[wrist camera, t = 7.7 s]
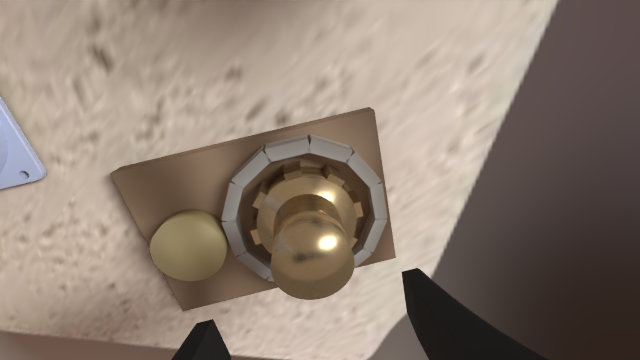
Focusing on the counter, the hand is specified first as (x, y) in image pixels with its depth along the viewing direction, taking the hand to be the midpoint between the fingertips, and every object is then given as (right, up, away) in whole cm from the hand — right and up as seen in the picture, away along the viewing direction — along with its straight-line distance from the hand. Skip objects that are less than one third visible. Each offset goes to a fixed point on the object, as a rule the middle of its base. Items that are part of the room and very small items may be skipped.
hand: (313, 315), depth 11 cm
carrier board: (-3, +3, +10) cm, 11 cm away
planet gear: (-1, +3, +9) cm, 9 cm away
